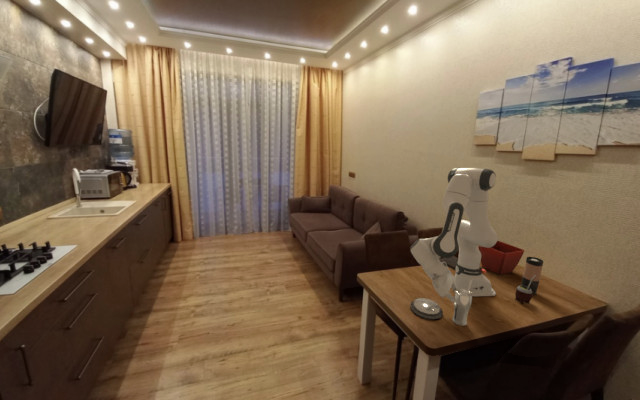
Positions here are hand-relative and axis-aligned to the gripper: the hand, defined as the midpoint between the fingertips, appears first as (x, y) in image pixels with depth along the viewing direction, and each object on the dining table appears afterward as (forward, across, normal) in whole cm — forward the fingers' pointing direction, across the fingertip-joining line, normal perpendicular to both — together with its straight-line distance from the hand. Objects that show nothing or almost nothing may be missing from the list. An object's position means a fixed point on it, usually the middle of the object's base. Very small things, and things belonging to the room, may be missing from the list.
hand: (455, 296), depth 124 cm
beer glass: (+11, 0, +6) cm, 12 cm away
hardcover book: (+5, +68, +12) cm, 69 cm away
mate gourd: (+29, +42, -12) cm, 52 cm away
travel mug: (+31, +56, -14) cm, 66 cm away
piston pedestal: (0, 0, +16) cm, 17 cm away
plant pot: (+20, +79, -3) cm, 82 cm away
